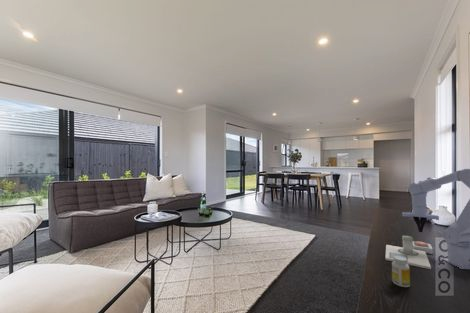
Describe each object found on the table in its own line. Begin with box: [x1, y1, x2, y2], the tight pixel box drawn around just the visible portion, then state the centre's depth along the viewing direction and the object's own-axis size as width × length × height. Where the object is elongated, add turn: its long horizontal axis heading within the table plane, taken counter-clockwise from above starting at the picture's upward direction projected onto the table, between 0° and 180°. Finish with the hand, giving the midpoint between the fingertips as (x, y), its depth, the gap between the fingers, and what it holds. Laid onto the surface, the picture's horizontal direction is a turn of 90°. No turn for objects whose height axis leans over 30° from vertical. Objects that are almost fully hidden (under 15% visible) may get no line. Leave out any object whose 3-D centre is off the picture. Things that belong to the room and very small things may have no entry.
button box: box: [413, 240, 434, 255], centre depth 111 cm, size 8×8×2 cm
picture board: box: [384, 244, 432, 270], centre depth 104 cm, size 20×16×1 cm
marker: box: [401, 235, 414, 254], centre depth 106 cm, size 4×4×8 cm
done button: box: [414, 240, 428, 247], centre depth 112 cm, size 5×5×1 cm
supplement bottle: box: [391, 256, 411, 288], centre depth 81 cm, size 5×5×10 cm
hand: (420, 231), depth 112 cm, fingers closed
